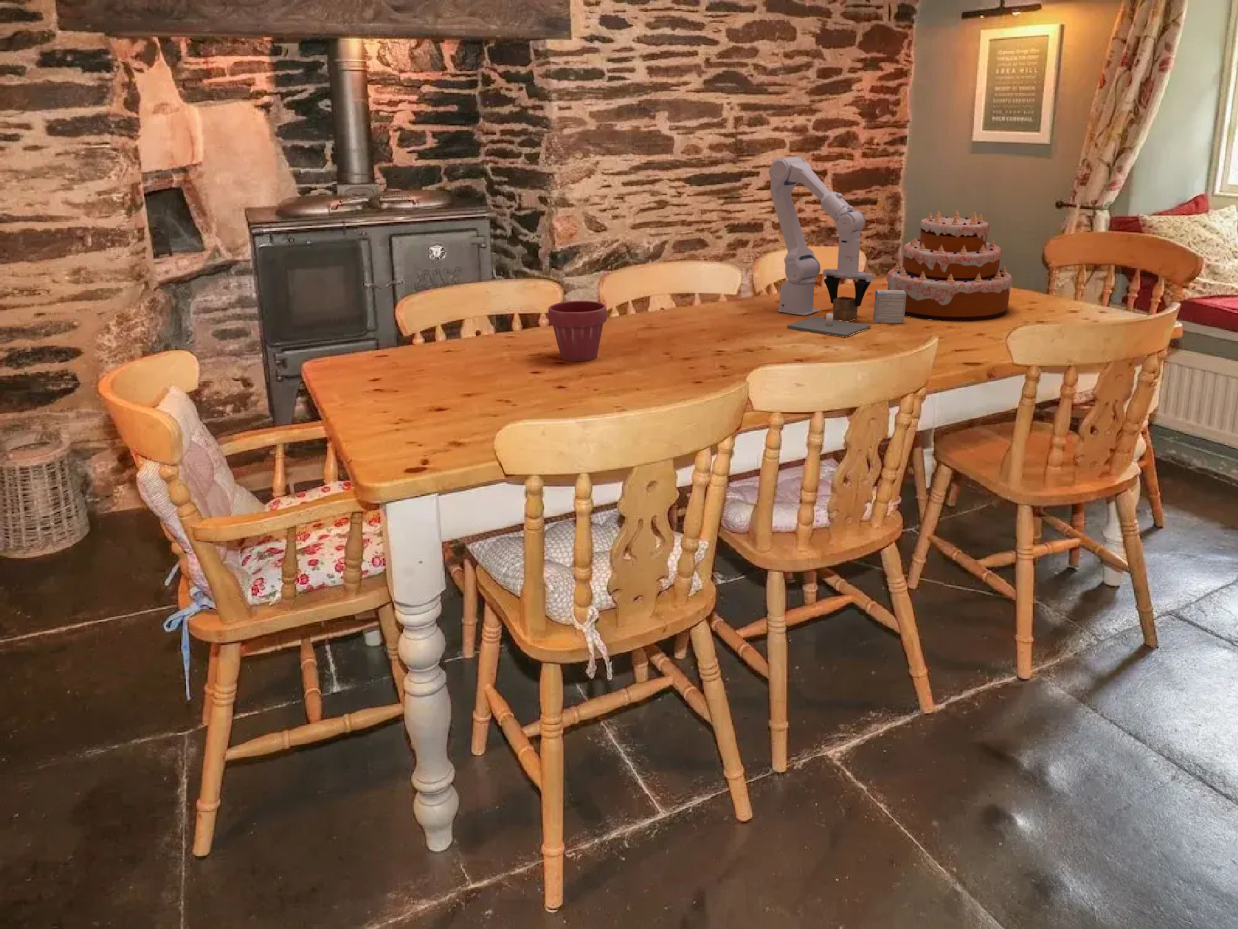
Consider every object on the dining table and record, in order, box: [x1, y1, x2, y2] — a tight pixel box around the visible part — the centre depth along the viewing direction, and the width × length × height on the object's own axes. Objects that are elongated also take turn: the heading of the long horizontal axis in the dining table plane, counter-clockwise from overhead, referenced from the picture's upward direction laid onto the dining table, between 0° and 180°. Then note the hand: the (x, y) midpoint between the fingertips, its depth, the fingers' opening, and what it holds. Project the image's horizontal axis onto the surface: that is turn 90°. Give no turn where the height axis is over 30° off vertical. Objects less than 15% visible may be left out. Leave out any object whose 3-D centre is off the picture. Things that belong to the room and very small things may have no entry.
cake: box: [886, 210, 1014, 322], centre depth 292 cm, size 35×35×28 cm
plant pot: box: [547, 300, 608, 362], centre depth 248 cm, size 14×14×13 cm
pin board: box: [786, 312, 872, 338], centre depth 275 cm, size 18×14×4 cm
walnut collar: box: [832, 295, 859, 322], centre depth 284 cm, size 5×5×6 cm
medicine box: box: [873, 289, 906, 324], centre depth 280 cm, size 8×4×9 cm, turn 84°
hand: (845, 304), depth 283 cm, fingers open, 7 cm apart
